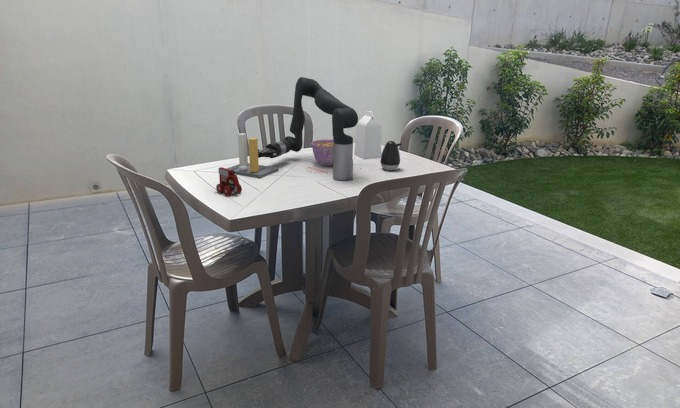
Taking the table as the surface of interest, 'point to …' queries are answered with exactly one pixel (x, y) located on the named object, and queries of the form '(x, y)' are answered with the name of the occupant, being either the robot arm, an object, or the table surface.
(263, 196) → the table surface
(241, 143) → the lever ivory
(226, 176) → the toy fire truck
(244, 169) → the button grey
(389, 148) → the pump dispenser
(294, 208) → the table surface
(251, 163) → the lever amber
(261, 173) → the panel
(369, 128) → the milk
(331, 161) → the bowl of food
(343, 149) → the robot arm
